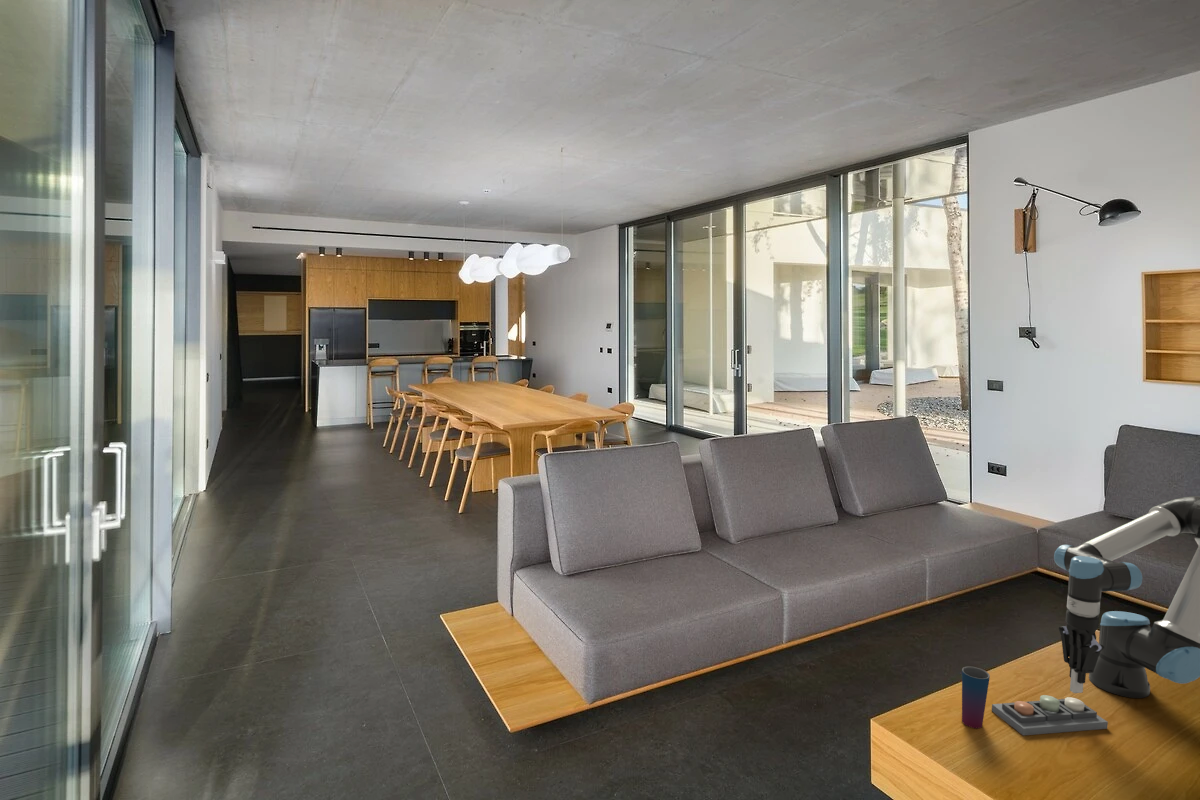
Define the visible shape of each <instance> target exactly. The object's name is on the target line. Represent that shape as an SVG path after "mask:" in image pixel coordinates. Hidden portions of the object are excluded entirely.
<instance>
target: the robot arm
mask: <svg viewBox="0 0 1200 800" xmlns="http://www.w3.org/2000/svg"><path fill="white" fill-rule="evenodd" d="M1180 534H1194V535H1195V537H1194V540H1195V542H1196V544H1197V546H1198V547H1197V549H1196V550H1195V553H1194V555H1193V557H1192V559H1191V561H1190V563H1189V565H1188V567H1187V570H1186V571H1185V573H1184V576H1183V578H1182V580H1181V582H1180V584H1179V585H1178V588H1177V590H1176V592H1175V595H1174V596H1173V598H1172V601H1171V603H1170V605H1169V607H1168V609H1167V611H1166V613H1165V615H1164V617H1163V619H1161V620H1157V621H1154V622H1153V624H1152V627H1151V626H1150V624H1151V622H1150V619H1149V618H1148V617H1147V616H1144V615H1142V614H1137V613H1133V612H1130V611H1129V612H1127V611H1121V610H1119V611H1118V610H1114V611H1113V610H1112V611H1106V612H1104V613H1103V614H1102V616H1101V619H1100V612H1101V611H1100V610H1101V609H1100V608H1101V599H1102V592H1105V593H1106V592H1115V591H1116V592H1118V591H1119V592H1120V591H1125V592H1126V591H1129V590H1135V589H1139V587H1141V586H1142V584H1143V574H1142V571H1141V569H1140V568H1139V567H1138V566H1137V565H1135V564H1134V563H1131V562H1124V561H1120V562H1116V561H1114V560H1117V559H1119V558H1121V557H1123V556H1126V555H1127V554H1130V553H1131V552H1135V551H1136V550H1139V549H1140V548H1143V547H1145V546H1147V545H1149V544H1152V543H1154V542H1156V541H1157V540H1159V539H1162V538H1165V537H1167V536H1168V537H1176V536H1178V535H1180ZM1053 561H1054V562H1055V564H1056V565H1057V566H1058V567H1059V568H1061V569H1062V570H1065V571H1067V572H1068V586H1067V587H1068V588H1067V599H1066V600H1067V601H1066V612H1065V622H1066V625H1065V626H1059V627H1058V631H1059V634H1060V637H1061V638H1060V639H1061V646H1062V655H1063V661H1064V663H1066V664H1068V666H1069V678H1070V684H1069V691H1070V692H1072V693H1073V694H1081V693H1083V692H1084V684H1086V677H1087V676H1086V675H1087V674H1088V679H1089V681H1090V682H1091V684H1093V685H1095V686H1096V687H1097V688H1099V689H1101V690H1104V691H1105V692H1108V693H1111V694H1113V695H1117V696H1121V697H1125V698H1129V699H1130V698H1131V699H1143V698H1147V697H1149V696H1150V692H1151V684H1150V682H1149V681H1148V680H1149V679H1148V675H1147V672H1146V671H1147V670H1149V671H1151V672H1152V673H1155V674H1157V675H1158V676H1159V677H1160V678H1163V679H1167V680H1169V681H1171V682H1173V683H1175V684H1176V683H1177V684H1183V685H1185V684H1189V683H1191V682H1194V681H1196V680H1197V679H1199V678H1200V496H1199V495H1191V496H1184V497H1179V498H1175V499H1171V500H1168V501H1164V502H1163V503H1160V504H1157V505H1155V506H1152V507H1151V508H1150V509H1149V510H1148V513H1146V514H1144V515H1142V516H1140V517H1137V518H1135V519H1133V520H1131V521H1129V522H1127V523H1125V524H1123V525H1120V526H1118V527H1116V528H1114V529H1112V530H1110V531H1107V532H1105V533H1104V534H1100V535H1099V536H1096V537H1094V538H1092V539H1090V540H1087V541H1086V542H1083V543H1082V544H1078V546H1074V545H1073V544H1072V545H1071V544H1061V545H1059V546H1058V547H1057V548H1056V550H1055V551H1054V555H1053ZM1099 622H1100V623H1099ZM1098 629H1099V635H1098V636H1099V638H1098V641H1097V635H1096V632H1097V630H1098ZM1146 669H1147V670H1146Z"/></svg>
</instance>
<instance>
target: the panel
mask: <svg viewBox="0 0 1200 800" xmlns="http://www.w3.org/2000/svg"><path fill="white" fill-rule="evenodd" d="M1057 699H1058V700H1059V701H1060V704H1059V711H1058V712H1050V711H1047V710H1044V709H1043V708H1041V707H1040V700H1033V701H1032V700H1031V701H1030V700H1029V701H1026V702H1027V703H1029V704H1031V705H1032V706H1033V707H1034V711H1033V715H1028V716H1022V715H1021V714H1019V713H1018V712H1017V711H1015V710H1014V704H1015V702H1005V703H993V704H991V712H993V713H994V714H995V715H996V716H998V718H1000V719H1001V720H1002V721H1004V722H1005V723H1007V724H1008V725H1009V726H1010V727H1012V728H1013V729H1014V730H1016V731H1017V732H1018V733H1020V735H1022V736H1030V735H1031V736H1032V735H1043V734H1044V735H1046V734H1058V733H1069V732H1071V733H1073V732H1083V731H1095V730H1105V729H1106V730H1107V729H1108V726H1109V725H1108V723H1109V721H1107V720H1106V719H1105V718H1102V717H1101V716H1100V715H1098V712H1097V711H1096V710H1094V709H1092V708H1091V707H1089V706H1088V705H1087V704H1085V705H1084V711H1080V712H1073V711H1072V710H1070V709H1069V708H1067V707H1066V706H1064V703H1065V698H1060V699H1059V698H1057Z"/></svg>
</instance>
